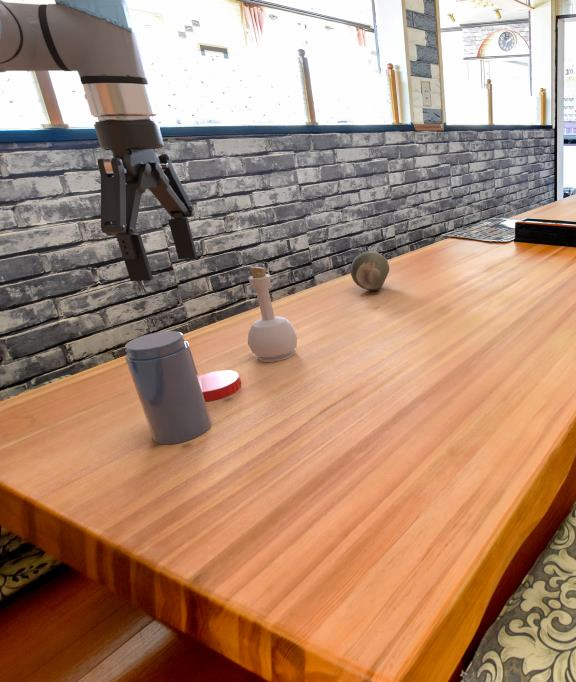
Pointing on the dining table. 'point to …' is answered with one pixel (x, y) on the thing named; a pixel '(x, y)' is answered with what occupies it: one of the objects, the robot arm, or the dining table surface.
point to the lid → (219, 384)
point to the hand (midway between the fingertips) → (166, 268)
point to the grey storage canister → (168, 386)
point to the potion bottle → (269, 325)
